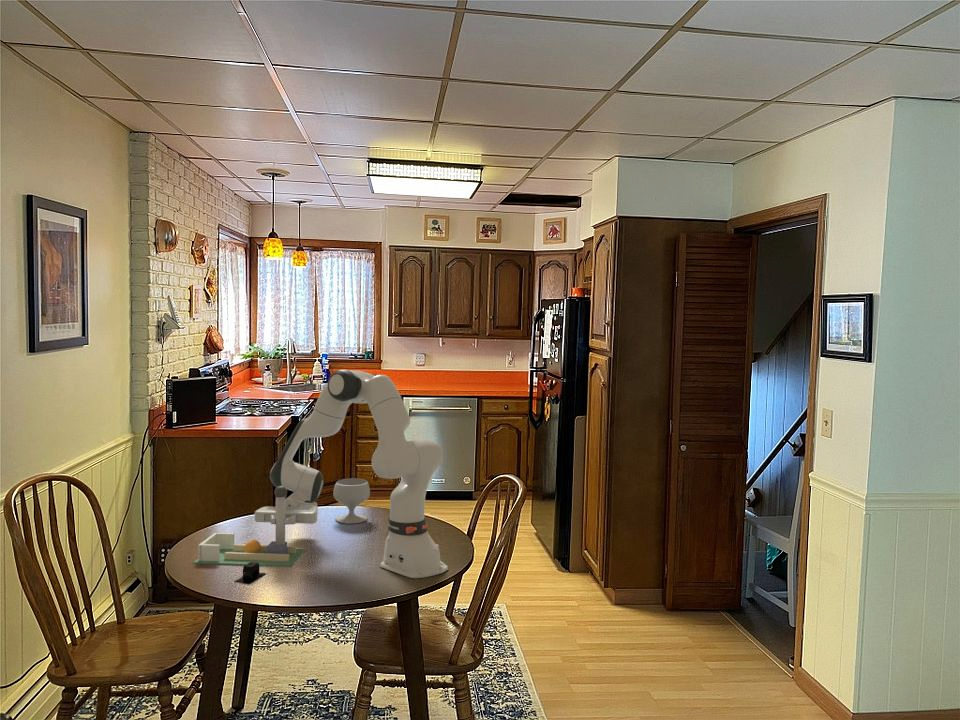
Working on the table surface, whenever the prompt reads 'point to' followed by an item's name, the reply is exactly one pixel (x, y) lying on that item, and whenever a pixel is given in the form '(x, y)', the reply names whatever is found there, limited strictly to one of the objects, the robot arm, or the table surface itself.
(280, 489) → the lever
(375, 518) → the table surface
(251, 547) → the ball
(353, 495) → the chalice
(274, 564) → the pitch
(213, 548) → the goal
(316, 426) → the robot arm
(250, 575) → the black boxy piece
